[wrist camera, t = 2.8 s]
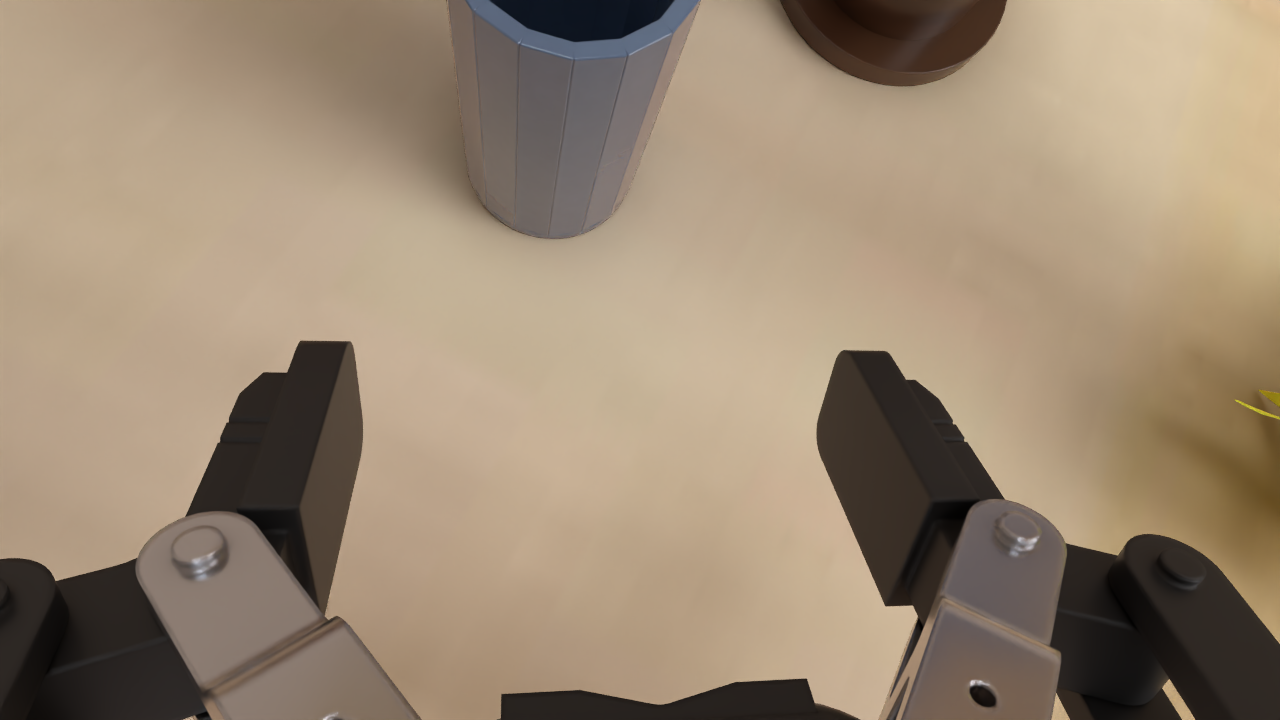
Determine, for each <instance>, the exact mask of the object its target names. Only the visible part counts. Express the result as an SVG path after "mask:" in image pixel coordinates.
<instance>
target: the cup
mask: <svg viewBox="0 0 1280 720" xmlns="http://www.w3.org/2000/svg"><path fill="white" fill-rule="evenodd" d="M446 2H447V10H448V19H449V27H450V35H451V43H452V52H453V60H454V68H455V76H456V85H457V93H458V101H459V109H460V118H461V126H462V134H463V142H464V150H465V157H466V163H467V170H468V176H469V179H470V181H471V184H472V187H473V189H474V191H475V193H476V195H477V196H478V198H479V200H480V201H481V202H482V204H483V205H484V206H485V208H486V209H487V210H488V211H489V212H490V213H491V214H492V215H493V216H494V217H496V218H497V219H498V220H499V221H501V222H502V223H504V224H505V225H507V226H508V227H510V228H512V229H514V230H516V231H518V232H521V233H524V234H527V235H530V236H534V237H540V238H550V239H557V238H567V237H573V236H577V235H580V234H583V233H586V232H588V231H590V230H592V229H594V228H596V227H597V226H599V225H600V224H602V223H603V222H604V221H606V220H607V219H608V218H609V217H610V216H611V215H612V214H613V213H614V212H615V211H616V210H617V208H618V207H619V206H620V204H621V202H622V201H623V199H624V197H625V195H626V194H627V193H628V191H629V189H630V186H631V184H632V181H633V178H634V176H635V173H636V171H637V168H638V165H639V163H640V160H641V157H642V155H643V152H644V149H645V147H646V144H647V142H648V139H649V136H650V134H651V131H652V128H653V126H654V123H655V120H656V118H657V115H658V113H659V110H660V107H661V105H662V102H663V99H664V97H665V94H666V91H667V89H668V86H669V84H670V81H671V78H672V76H673V73H674V70H675V68H676V65H677V62H678V60H679V57H680V55H681V52H682V49H683V47H684V44H685V41H686V39H687V36H688V33H689V31H690V28H691V26H692V23H693V20H694V18H695V15H696V12H697V10H698V7H699V5H700V2H701V0H446Z"/></svg>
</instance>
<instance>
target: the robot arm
mask: <svg viewBox="0 0 1280 720" xmlns="http://www.w3.org/2000/svg"><path fill="white" fill-rule="evenodd" d="M362 441H363V419H362V410H361V402H360V394H359V386H358V378H357V370H356V362H355V354H354V348H353V345H352V343H351V342H350V341H300V342H299V344H298V346H297V348H296V351H295V354H294V356H293V359H292V361H291V364H290V367H289V369H288V372H287V373H269V372H263V373H262V374H261V375H260V376H259V377H258V378H257V379H256V380H254V381H253V382H252V383H251V384H250V385H249V386H248V387H247V388H245V389H244V390H243V391H242V392H241V393H240V394H239V396H238V399H237V401H236V403H235V405H234V408H233V410H232V412H231V414H230V417H229V423H226V426H225V428H224V430H223V433H222V435H221V437H220V443H218V444H217V446H216V448H215V451H214V453H213V455H212V458H211V460H210V462H209V464H208V467H207V469H206V471H205V473H204V476H203V478H202V480H201V483H200V485H199V487H198V489H197V492H196V494H195V496H194V498H193V501H192V503H191V505H190V508H189V510H188V512H187V514H186V516H185V517H184V518H182V519H179V520H177V521H175V522H173V523H171V524H169V525H167V526H166V527H164V528H163V529H161V530H160V531H158V532H157V533H156V534H155V535H154V536H152V537H151V538H150V540H149V541H148V542H147V543H146V544H145V545H144V547H143V548H142V550H141V551H140V553H139V556H138V558H136V559H134V560H131V561H129V562H126V563H123V564H120V565H117V566H113V567H110V568H106V569H102V570H98V571H94V572H90V573H86V574H82V575H78V576H74V577H71V578H67V579H63V580H59V581H55V579H54V577H53V575H52V573H51V572H50V571H49V570H48V569H47V568H46V567H45V566H44V565H42V564H40V563H38V562H35V561H32V560H27V559H20V558H8V559H0V720H182V719H185V718H188V717H191V716H192V717H193V719H194V720H421V718H420V717H419V716H418V714H417V713H416V712H415V710H414V709H413V708H412V707H411V705H410V704H409V703H408V701H407V700H406V699H405V697H404V696H403V695H402V693H401V692H400V691H399V690H398V688H397V687H396V686H395V684H394V683H393V682H392V680H391V679H390V678H389V676H388V675H387V674H386V673H385V671H384V670H383V669H382V667H381V666H380V665H379V663H378V662H377V661H376V659H375V658H374V657H373V656H372V654H371V653H370V652H369V650H368V649H367V648H366V646H365V645H364V644H363V642H362V641H361V640H360V639H359V637H358V636H357V635H356V633H355V632H354V631H353V629H352V628H351V627H350V626H349V625H348V624H347V623H346V622H345V621H344V620H343V619H342V618H340V617H338V616H335V617H334V618H332V619H330V620H328V619H327V618H326V617H325V611H326V607H327V603H328V598H329V594H330V589H331V585H332V581H333V576H334V572H335V567H336V563H337V558H338V554H339V550H340V545H341V541H342V536H343V532H344V528H345V523H346V519H347V514H348V510H349V506H350V501H351V497H352V492H353V488H354V484H355V479H356V475H357V470H358V466H359V461H360V457H361V451H362ZM817 445H818V450H819V454H820V456H821V459H822V461H823V463H824V466H825V468H826V470H827V472H828V475H829V477H830V479H831V482H832V484H833V486H834V489H835V491H836V493H837V496H838V498H839V500H840V502H841V505H842V507H843V509H844V512H845V514H846V516H847V519H848V521H849V523H850V526H851V528H852V530H853V532H854V535H855V537H856V539H857V542H858V544H859V546H860V549H861V551H862V553H863V556H864V558H865V560H866V562H867V565H868V567H869V569H870V572H871V574H872V576H873V579H874V581H875V583H876V586H877V588H878V590H879V592H880V595H881V597H882V599H883V602H884V604H885V606H909V605H913V606H914V609H915V611H916V613H917V615H918V618H917V620H916V622H915V624H914V626H913V628H912V630H911V633H910V636H909V638H908V641H907V644H906V647H905V649H904V652H903V655H902V657H901V660H900V663H899V666H898V668H897V671H896V674H895V676H894V679H893V682H892V685H891V687H890V690H889V693H888V695H887V698H886V701H885V704H884V706H883V709H882V712H881V714H880V717H879V719H878V720H1051V718H1052V713H1053V707H1054V701H1055V695H1056V693H1057V695H1058V697H1059V699H1060V701H1061V703H1062V705H1063V707H1064V708H1065V710H1066V712H1067V714H1068V716H1069V718H1070V720H1182V719H1181V717H1180V716H1179V714H1178V713H1177V711H1176V710H1175V708H1174V706H1173V705H1172V703H1171V702H1170V700H1169V698H1168V697H1167V695H1166V694H1165V692H1164V691H1163V689H1162V687H1163V686H1164V684H1165V683H1166V682H1167V681H1168V680H1169V679H1170V680H1171V682H1172V683H1173V685H1174V687H1175V688H1176V690H1177V691H1178V693H1179V694H1180V696H1181V697H1182V699H1183V700H1184V702H1185V704H1186V705H1187V707H1188V708H1189V710H1190V711H1191V713H1192V714H1193V716H1194V718H1195V720H1280V644H1279V643H1278V641H1277V640H1276V639H1275V638H1274V636H1273V635H1272V634H1271V633H1270V631H1269V630H1268V629H1267V628H1266V626H1265V625H1264V624H1263V623H1262V621H1261V620H1260V619H1259V618H1258V616H1257V615H1256V614H1255V613H1254V611H1253V610H1252V609H1251V608H1250V606H1249V605H1248V604H1247V602H1246V601H1245V600H1244V599H1243V597H1242V596H1241V595H1240V594H1239V592H1238V591H1237V590H1236V589H1235V587H1234V586H1233V585H1232V584H1231V582H1230V581H1229V580H1228V579H1227V577H1226V576H1225V575H1224V574H1223V572H1222V571H1221V570H1220V569H1219V568H1218V567H1217V566H1216V565H1215V564H1214V563H1213V562H1212V561H1211V560H1210V559H1208V558H1207V557H1206V556H1204V555H1203V554H1202V553H1200V552H1199V551H1197V550H1195V549H1194V548H1192V547H1190V546H1188V545H1186V544H1184V543H1182V542H1180V541H1177V540H1175V539H1172V538H1169V537H1165V536H1160V535H1153V534H1142V535H1138V536H1135V537H1133V538H1131V539H1130V540H1129V541H1128V542H1127V543H1126V545H1125V546H1124V548H1123V549H1122V551H1121V552H1120V554H1119V555H1118V556H1117V555H1113V554H1108V553H1104V552H1100V551H1096V550H1091V549H1087V548H1083V547H1078V546H1074V545H1070V544H1067V543H1065V541H1064V539H1063V537H1062V536H1061V534H1060V532H1059V531H1058V530H1057V529H1056V528H1055V526H1054V525H1053V524H1052V523H1051V522H1049V521H1048V520H1047V519H1046V518H1045V517H1043V516H1042V515H1041V514H1039V513H1037V512H1036V511H1034V510H1032V509H1030V508H1028V507H1026V506H1024V505H1021V504H1019V503H1016V502H1012V501H1008V500H1005V499H1004V497H1003V496H1002V494H1001V493H1000V491H999V490H998V488H997V487H996V485H995V484H994V482H993V481H992V479H991V478H990V476H989V475H988V473H987V471H986V470H985V468H984V467H983V465H982V464H981V462H980V461H979V459H978V458H977V456H976V455H975V453H974V452H973V450H972V449H971V447H970V446H969V444H968V443H967V442H964V436H963V435H962V433H961V432H960V430H959V429H958V427H957V426H956V425H953V420H952V418H951V417H950V415H949V414H948V412H947V411H946V409H945V408H944V406H943V405H942V403H941V402H940V400H939V399H938V398H937V397H936V396H934V395H933V394H932V393H931V392H930V391H928V390H927V389H926V388H925V387H923V386H922V385H921V384H920V383H918V382H917V381H916V380H906V379H905V377H904V376H903V374H902V373H901V371H900V369H899V368H898V366H897V365H896V363H895V361H894V360H893V358H892V357H891V355H890V354H889V353H888V352H886V351H853V350H844V351H841V352H840V353H839V355H838V356H837V358H836V361H835V364H834V367H833V371H832V374H831V377H830V381H829V384H828V387H827V391H826V394H825V397H824V401H823V404H822V407H821V411H820V414H819V418H818V422H817ZM498 720H860V719H858V718H856V717H854V716H852V715H849V714H847V713H845V712H842V711H840V710H837V709H834V708H831V707H828V706H825V705H821V704H816V703H814V700H813V697H812V694H811V690H810V687H809V684H808V681H807V679H789V680H770V681H750V682H734V683H731V684H728V685H725V686H722V687H719V688H716V689H713V690H709V691H706V692H703V693H700V694H697V695H694V696H691V697H688V698H684V699H681V700H678V701H675V702H672V703H668V704H664V705H656V704H650V703H644V702H639V701H634V700H629V699H623V698H618V697H613V696H608V695H602V694H597V693H592V692H587V691H582V690H574V691H554V692H535V693H515V694H501V719H498Z"/></svg>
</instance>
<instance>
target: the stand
mask: <svg viewBox="0 0 1280 720" xmlns="http://www.w3.org/2000/svg"><path fill="white" fill-rule="evenodd" d="M1006 1H1007V0H781V2H782V4H783V6H784V9H785V11H786V13H787V15H788V16H789V18H790V20H791V22H792V23H793V25H794V27H795V28H796V29H797V31H798V32H799V33H800V34H801V36H802V37H803V38H804V40H805V41H806V42H807V43H808V44H809V45H810V46H811V47H812V48H813V49H814V50H815V51H816V52H818V53H819V54H820V55H821V56H822V57H824V58H825V59H826V60H827V61H829V62H830V63H832V64H833V65H835V66H837V67H838V68H840V69H842V70H844V71H846V72H848V73H850V74H852V75H854V76H856V77H859V78H862V79H864V80H867V81H871V82H875V83H879V84H884V85H893V86H913V85H920V84H926V83H930V82H933V81H936V80H939V79H942V78H944V77H946V76H948V75H950V74H952V73H954V72H955V71H957V70H958V69H960V68H961V67H963V66H964V65H965V64H966V63H967V62H968V61H969V60H970V59H971V58H972V57H974V56H975V55H976V54H977V53H978V52H979V51H980V50H981V49H982V48H983V47H984V46H985V45H986V44H987V42H988V41H989V40H990V38H991V37H992V36H993V35H994V33H995V31H996V29H997V27H998V25H999V24H1000V21H1001V19H1002V16H1003V13H1004V10H1005V6H1006Z"/></svg>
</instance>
